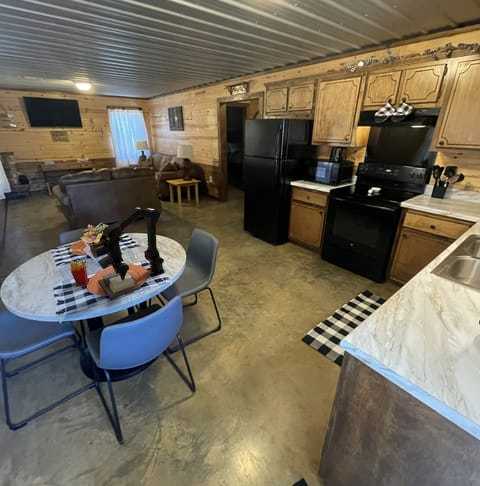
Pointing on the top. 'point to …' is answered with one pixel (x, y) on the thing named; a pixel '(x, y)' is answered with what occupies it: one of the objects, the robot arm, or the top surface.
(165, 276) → the top surface
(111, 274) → the grey rectangular block
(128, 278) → the cream book
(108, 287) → the walnut board
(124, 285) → the cream books
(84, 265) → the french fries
